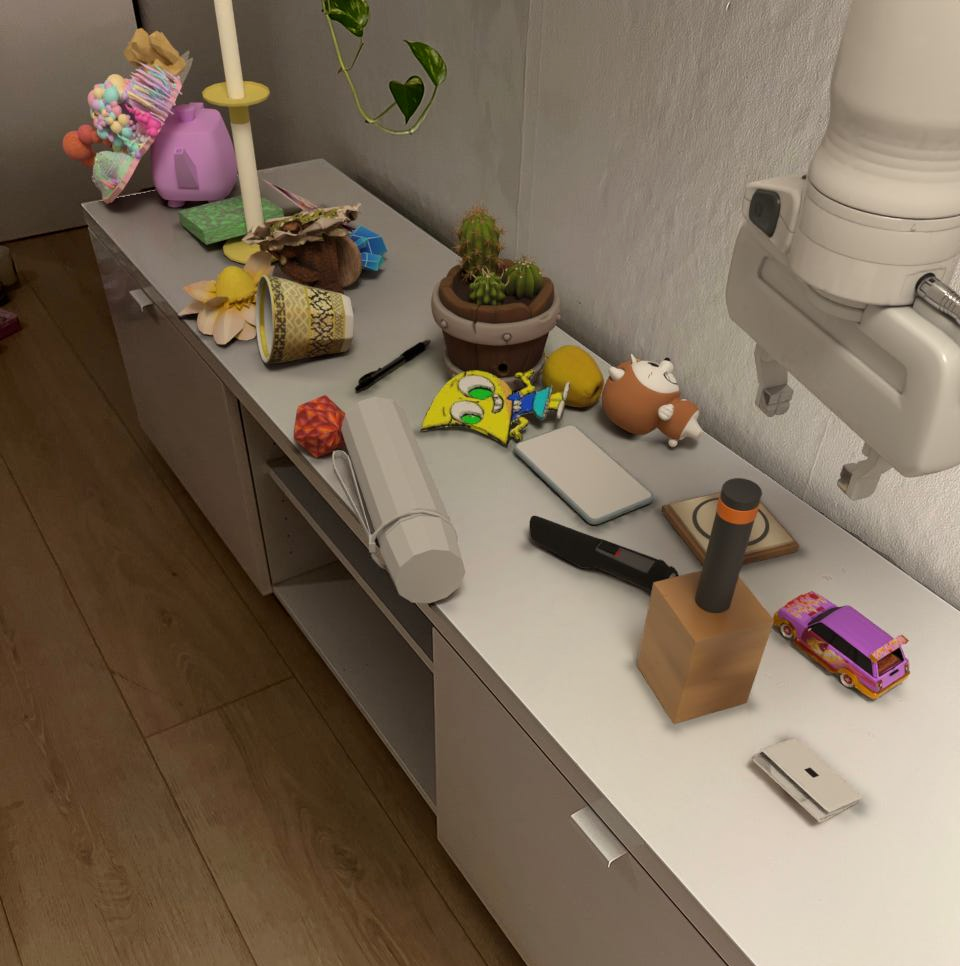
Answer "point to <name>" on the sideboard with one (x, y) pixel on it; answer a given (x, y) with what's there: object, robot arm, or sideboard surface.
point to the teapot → (193, 156)
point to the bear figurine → (306, 244)
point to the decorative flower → (230, 300)
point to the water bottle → (400, 502)
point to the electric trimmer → (599, 554)
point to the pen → (391, 365)
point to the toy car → (845, 643)
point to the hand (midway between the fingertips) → (810, 449)
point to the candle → (239, 127)
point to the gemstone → (358, 254)
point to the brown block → (701, 648)
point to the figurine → (649, 401)
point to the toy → (489, 415)
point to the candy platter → (129, 112)
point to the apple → (573, 375)
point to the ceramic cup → (300, 320)
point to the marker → (727, 544)
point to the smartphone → (583, 474)
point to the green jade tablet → (223, 218)
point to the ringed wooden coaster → (697, 524)
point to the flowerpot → (493, 306)
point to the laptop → (806, 779)
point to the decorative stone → (319, 426)
